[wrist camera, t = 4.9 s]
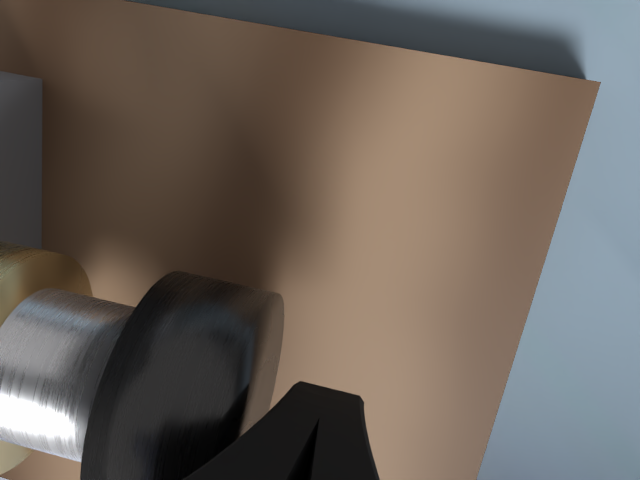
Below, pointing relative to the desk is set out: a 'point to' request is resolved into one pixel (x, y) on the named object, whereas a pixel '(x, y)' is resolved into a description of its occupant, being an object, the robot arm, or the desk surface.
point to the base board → (309, 199)
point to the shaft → (130, 368)
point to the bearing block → (21, 159)
